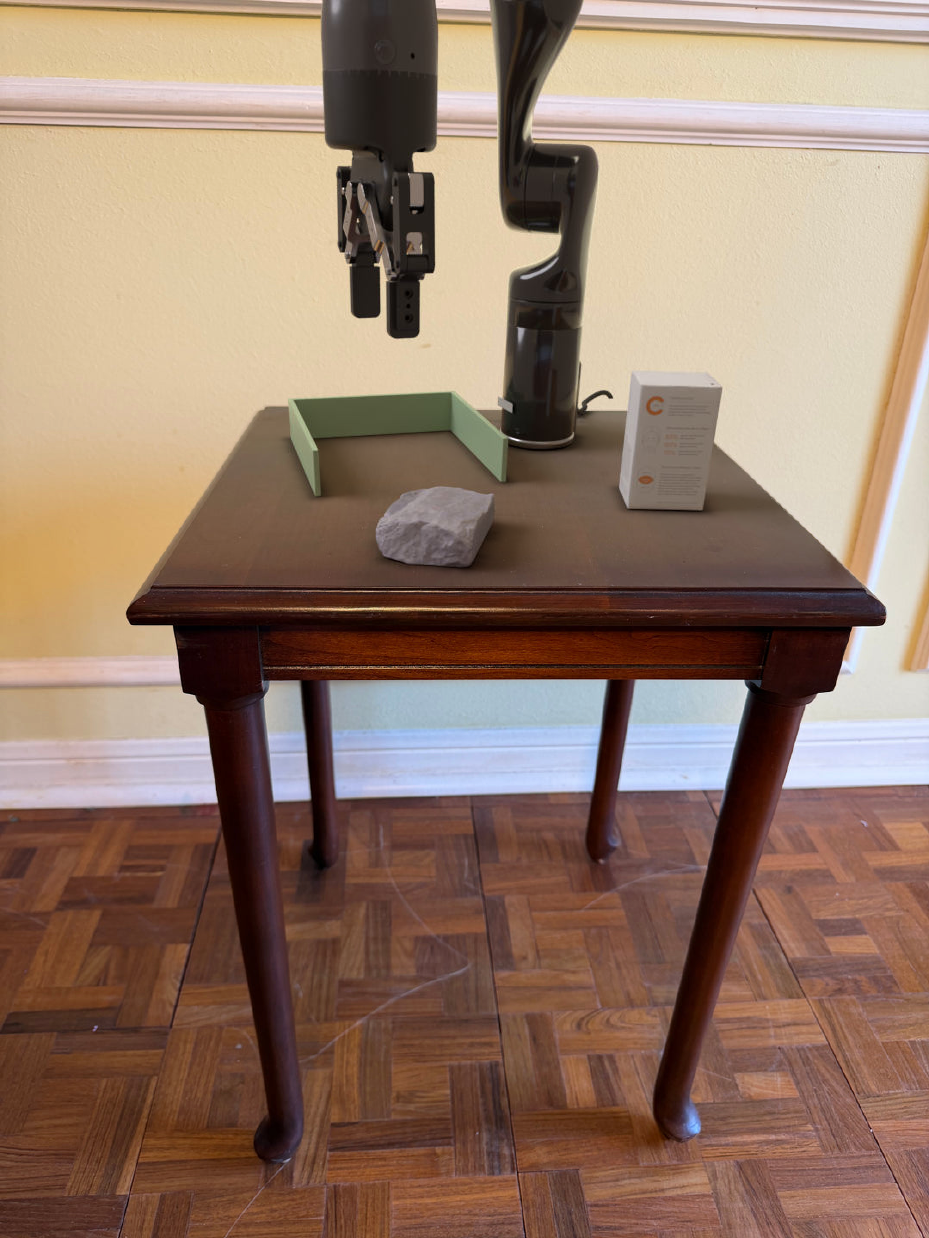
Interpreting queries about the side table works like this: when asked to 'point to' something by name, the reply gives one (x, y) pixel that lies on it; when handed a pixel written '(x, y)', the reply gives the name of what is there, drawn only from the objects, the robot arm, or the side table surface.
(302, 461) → the green u-shaped fence
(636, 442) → the small box
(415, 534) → the stone block
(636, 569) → the side table surface
